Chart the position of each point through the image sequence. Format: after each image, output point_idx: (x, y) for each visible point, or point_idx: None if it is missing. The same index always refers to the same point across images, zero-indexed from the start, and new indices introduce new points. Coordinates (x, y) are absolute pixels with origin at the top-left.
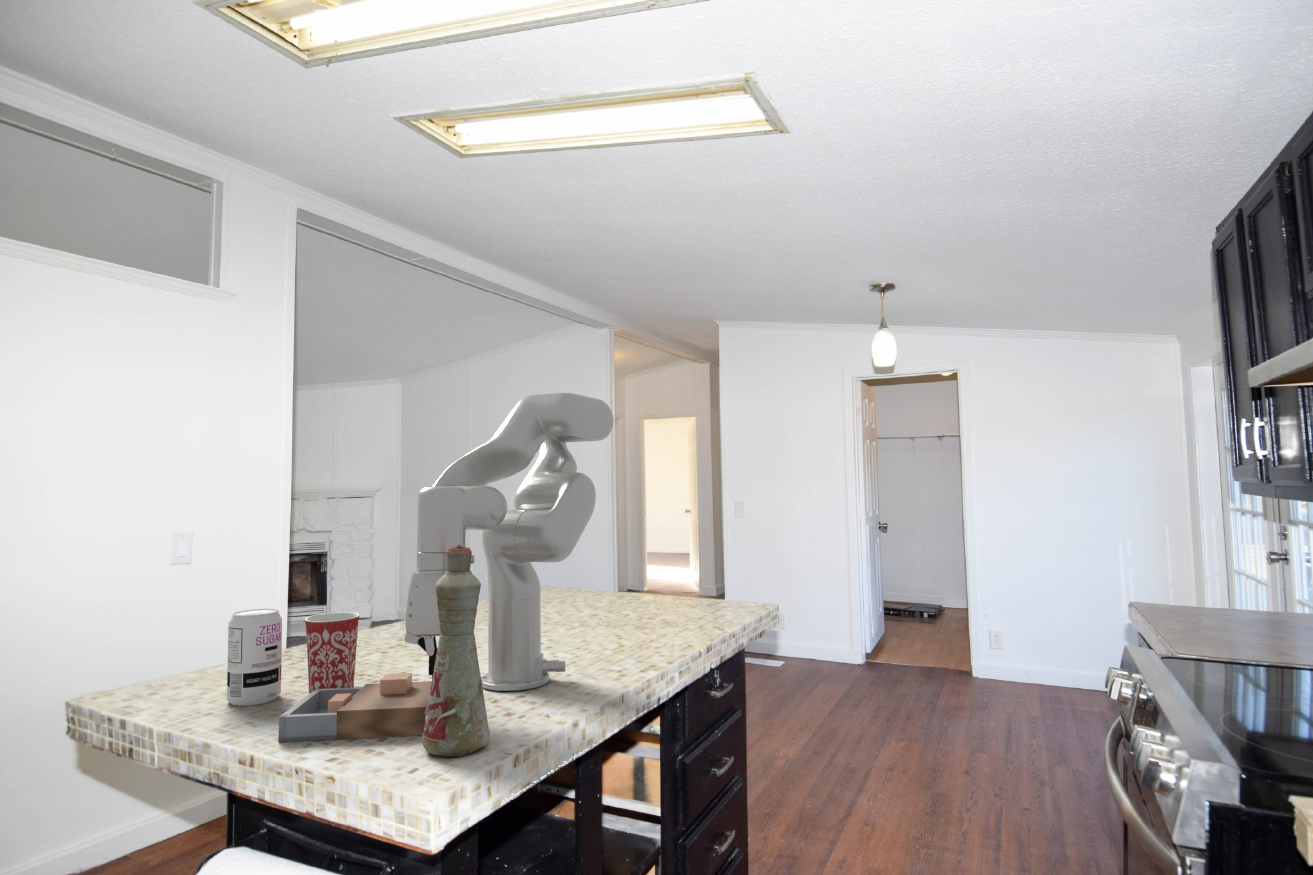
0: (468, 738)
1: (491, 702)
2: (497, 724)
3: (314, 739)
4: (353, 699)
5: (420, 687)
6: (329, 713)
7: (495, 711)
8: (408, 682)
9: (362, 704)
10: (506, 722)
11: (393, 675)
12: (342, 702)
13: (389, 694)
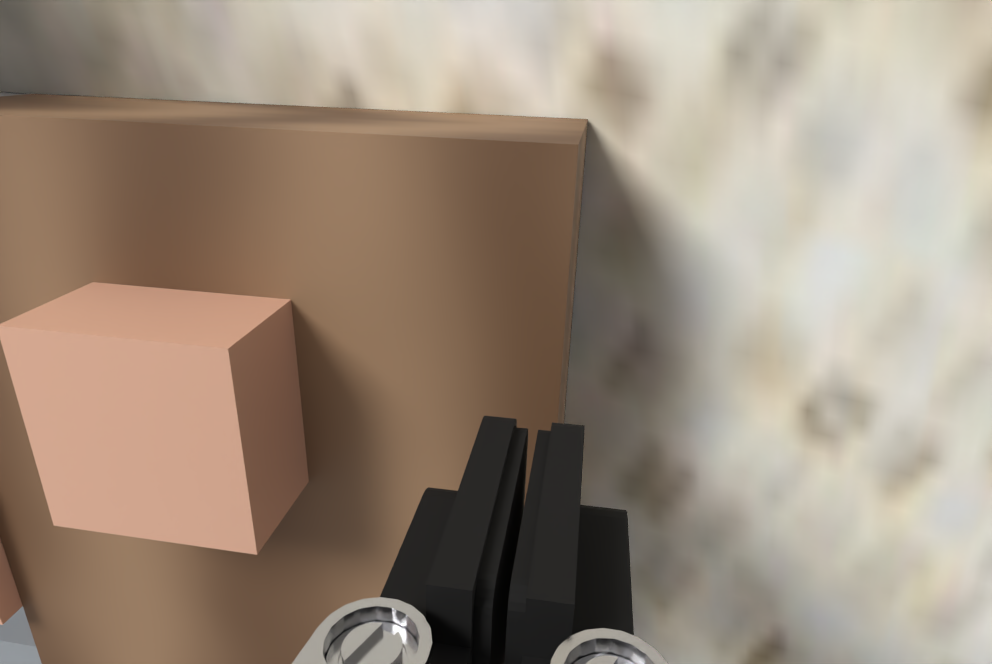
0: None
1: (965, 111)
2: (919, 604)
3: None
4: (19, 521)
5: (370, 344)
6: (19, 651)
7: (953, 363)
8: (272, 459)
9: (126, 628)
10: (982, 588)
11: (92, 410)
12: (7, 617)
13: None
